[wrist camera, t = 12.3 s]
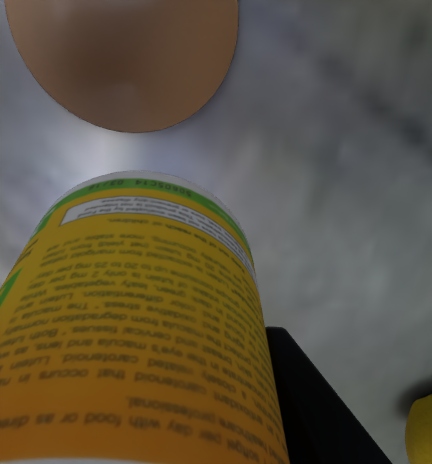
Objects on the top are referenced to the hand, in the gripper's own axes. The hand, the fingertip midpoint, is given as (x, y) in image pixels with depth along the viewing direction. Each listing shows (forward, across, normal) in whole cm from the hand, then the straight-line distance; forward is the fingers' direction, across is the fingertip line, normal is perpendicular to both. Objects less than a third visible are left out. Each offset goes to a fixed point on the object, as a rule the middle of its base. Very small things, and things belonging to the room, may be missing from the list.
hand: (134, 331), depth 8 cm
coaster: (+12, +2, -4) cm, 13 cm away
